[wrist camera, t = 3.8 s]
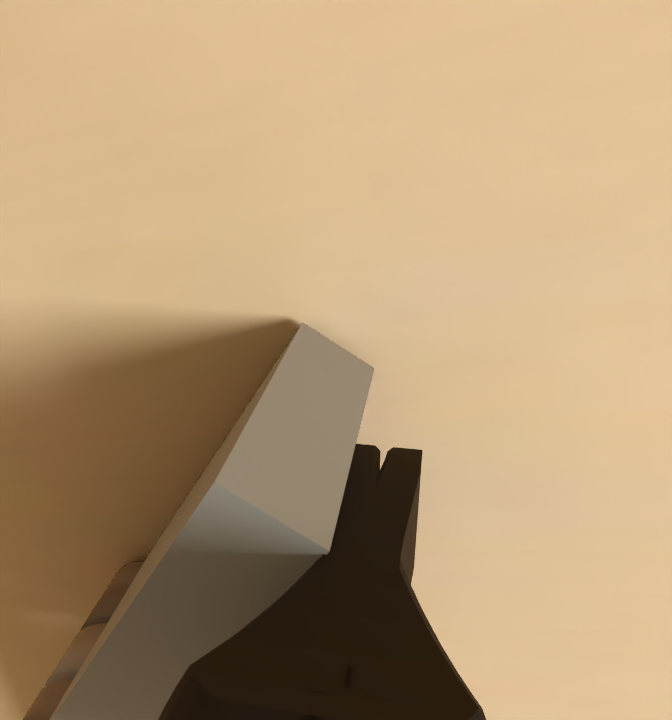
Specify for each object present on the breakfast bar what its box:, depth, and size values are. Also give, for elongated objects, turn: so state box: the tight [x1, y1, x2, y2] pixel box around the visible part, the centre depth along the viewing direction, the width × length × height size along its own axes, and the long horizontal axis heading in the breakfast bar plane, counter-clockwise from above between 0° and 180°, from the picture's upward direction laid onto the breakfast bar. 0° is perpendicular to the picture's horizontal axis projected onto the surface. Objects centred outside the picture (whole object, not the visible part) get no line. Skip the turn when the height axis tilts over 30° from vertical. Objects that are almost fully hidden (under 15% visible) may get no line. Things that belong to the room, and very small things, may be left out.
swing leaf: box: [46, 322, 374, 720], centre depth 14 cm, size 12×3×6 cm, turn 148°
